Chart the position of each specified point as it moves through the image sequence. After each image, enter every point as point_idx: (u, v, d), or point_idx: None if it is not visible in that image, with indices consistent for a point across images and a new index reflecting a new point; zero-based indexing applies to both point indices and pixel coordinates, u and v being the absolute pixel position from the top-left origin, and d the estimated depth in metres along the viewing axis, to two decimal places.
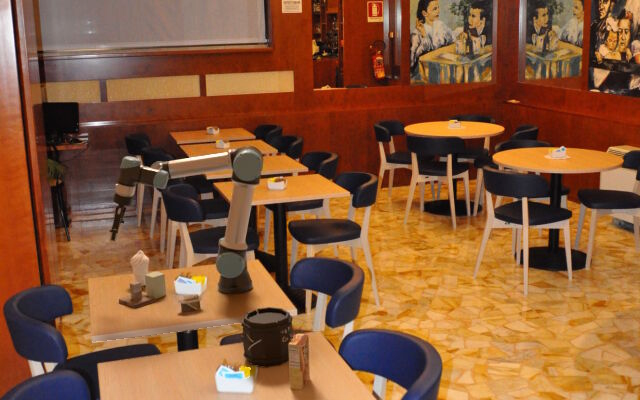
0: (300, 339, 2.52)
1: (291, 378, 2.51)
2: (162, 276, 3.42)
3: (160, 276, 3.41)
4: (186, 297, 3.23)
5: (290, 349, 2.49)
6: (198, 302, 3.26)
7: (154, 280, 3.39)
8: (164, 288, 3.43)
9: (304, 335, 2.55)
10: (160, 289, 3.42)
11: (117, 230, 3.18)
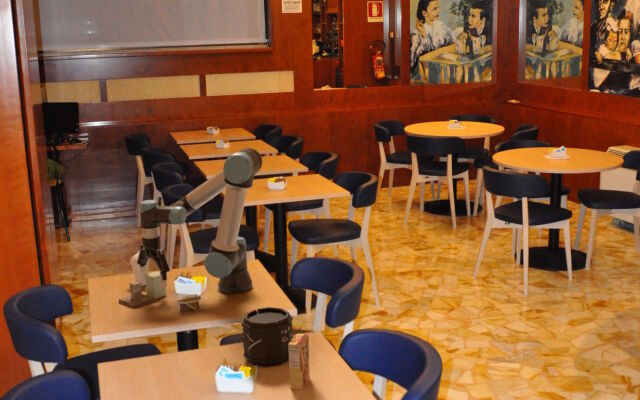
0: (300, 339, 2.52)
1: (291, 378, 2.51)
2: None
3: None
4: (185, 297, 3.23)
5: (290, 349, 2.49)
6: (197, 302, 3.26)
7: (154, 280, 3.39)
8: (164, 288, 3.43)
9: (304, 335, 2.55)
10: (160, 289, 3.42)
11: None
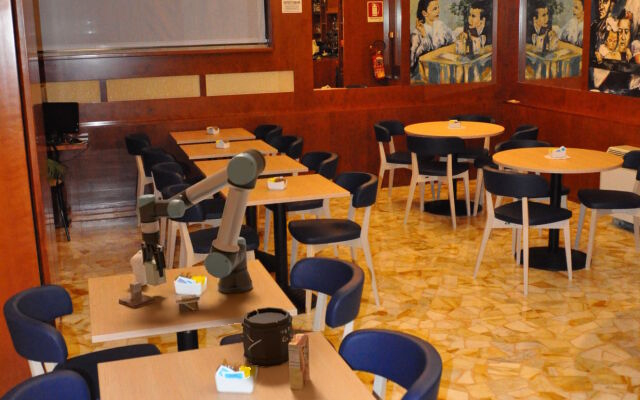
0: (300, 339, 2.52)
1: (291, 378, 2.51)
2: None
3: None
4: (184, 296, 3.23)
5: (290, 349, 2.49)
6: (196, 302, 3.26)
7: (154, 267, 3.37)
8: (164, 275, 3.42)
9: (303, 335, 2.55)
10: None
11: (165, 265, 3.37)
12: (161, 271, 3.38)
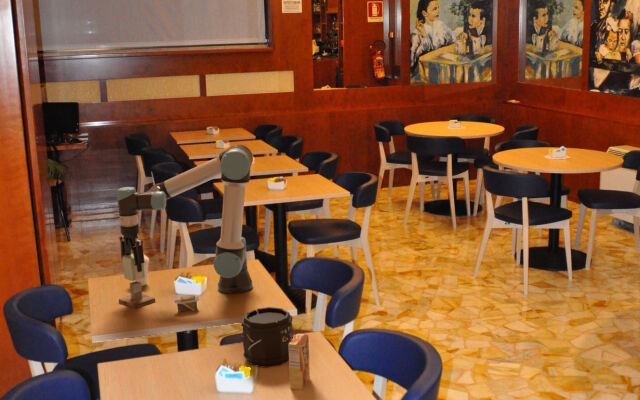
0: (300, 339, 2.52)
1: (291, 378, 2.51)
2: None
3: None
4: (183, 297, 3.23)
5: (290, 349, 2.49)
6: (195, 303, 3.26)
7: (132, 261, 3.29)
8: (142, 270, 3.34)
9: (304, 335, 2.55)
10: None
11: None
12: (139, 266, 3.30)
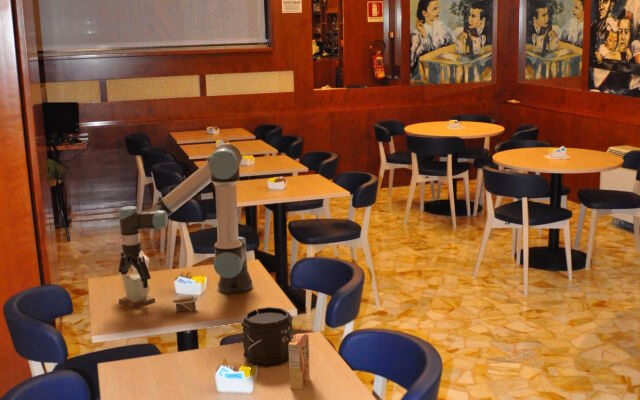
0: (300, 339, 2.52)
1: (291, 378, 2.51)
2: None
3: (140, 279, 3.33)
4: (181, 297, 3.23)
5: (290, 349, 2.49)
6: (193, 303, 3.25)
7: (134, 283, 3.31)
8: None
9: (304, 335, 2.55)
10: (141, 292, 3.34)
11: None
12: (145, 282, 3.29)
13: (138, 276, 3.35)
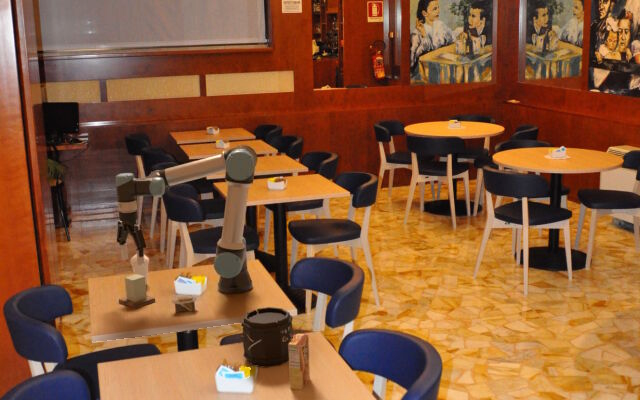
0: (300, 339, 2.52)
1: (291, 378, 2.51)
2: (142, 279, 3.34)
3: (140, 279, 3.33)
4: (180, 298, 3.23)
5: (290, 349, 2.49)
6: (193, 303, 3.25)
7: (134, 283, 3.31)
8: (145, 291, 3.36)
9: (304, 335, 2.55)
10: (141, 292, 3.34)
11: (145, 245, 3.26)
12: (141, 251, 3.27)
13: (138, 276, 3.35)
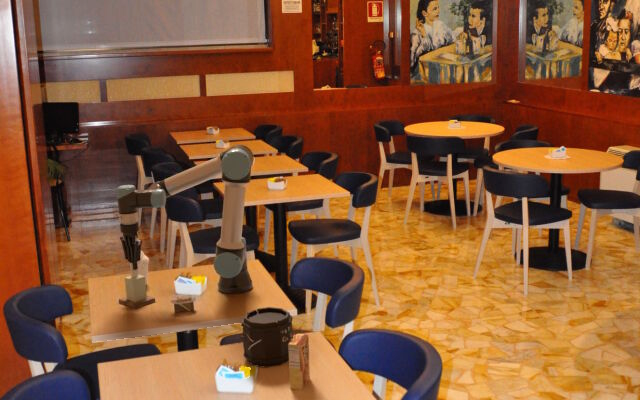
0: (300, 339, 2.52)
1: (291, 378, 2.51)
2: (142, 279, 3.34)
3: (140, 279, 3.33)
4: None
5: (290, 349, 2.49)
6: (192, 303, 3.25)
7: (134, 283, 3.31)
8: (145, 291, 3.36)
9: (303, 335, 2.55)
10: (141, 292, 3.34)
11: None
12: (135, 263, 3.32)
13: (138, 276, 3.35)
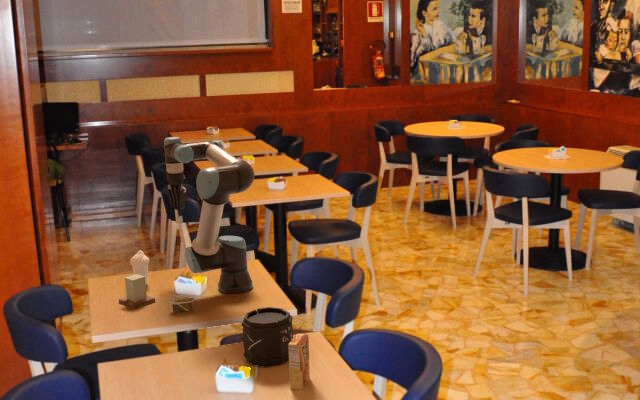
0: (300, 339, 2.52)
1: (291, 378, 2.51)
2: (142, 279, 3.34)
3: (140, 279, 3.33)
4: None
5: (290, 349, 2.49)
6: (190, 304, 3.25)
7: (134, 283, 3.31)
8: (145, 291, 3.36)
9: (303, 335, 2.55)
10: (141, 292, 3.34)
11: None
12: (180, 210, 3.57)
13: (138, 276, 3.35)
